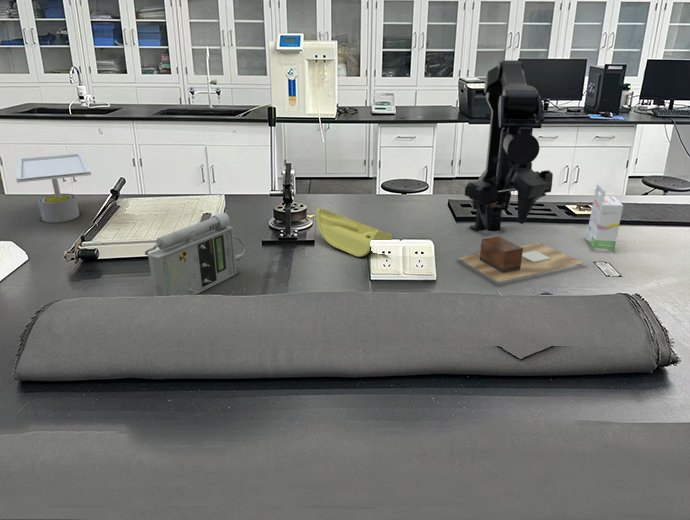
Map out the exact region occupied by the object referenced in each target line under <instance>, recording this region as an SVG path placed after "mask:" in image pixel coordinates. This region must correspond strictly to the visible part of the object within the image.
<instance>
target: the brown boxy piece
mask: <svg viewBox="0 0 690 520" xmlns="http://www.w3.org/2000/svg"><path fill="white" fill-rule="evenodd" d="M480 242H481V243H480V251H479V254H480V261H482V262H484V263H486V264H488V265H489V266H491V267H493V268H495V269H496V270H498V271H500V272H502V273H505V272H510V271H515V270H519V269H520V267H521V260H522V253H523V248H522V247H520V246H521V245H518V244H515V243H513V242H512V241H510V240H507V239H505V238H503V237H501V236H500V235H499V236H493V237H487V238H481V241H480Z"/></svg>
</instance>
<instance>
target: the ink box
mask: <svg viewBox="0 0 690 520" xmlns="http://www.w3.org/2000/svg"><path fill="white" fill-rule="evenodd" d="M623 211H624V205H623V203H621V202H620V200H619V199H618V198H617V197H616V196H613V195H606V190H605V189H604V188H603V187H602V186H601V185H600V184H599V183H597V184H596V187H595V192H594V195H593V200H592V207H591V211H590V217H589V222H588V227H587V232H586V237H585V240H586V241H587V242H589V243H590V244H591V246H592V247H593V248H595V249H607V250H609V251H612V252H614V251H615V247H616V243H617V237H618V232H619V227H620V223H621V218H622V213H623Z"/></svg>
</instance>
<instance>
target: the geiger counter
mask: <svg viewBox="0 0 690 520" xmlns="http://www.w3.org/2000/svg"><path fill="white" fill-rule="evenodd" d="M230 224H231V220H230V217H229V214H227V213H226V212H220V213H218V214H217V213H216V214H214V215H212V216H211V217H210V218H208V219H206V220H203V221H199V222H197V223H194V224H191V225H189V226H187V227H184V228H181V229H178V230H176V231H172V232H171V233H167V234H165V235H162V236H159V237H157V238H156V240H155V245H154V246H153V247H151V248H149V249H146V250H145V251H144V255H145V256H147V257H148V264H149V270H150V276H151V283H152V289H153V290H152V291H153V297H154V296H170V295H194V296H196V295H198V294H200V293H202V292H204V291H206V290H208V289H210V288H211V287H214V286H216V285H218V284H220V283H222V282H223V281H226V280H228V279H230V278H233V277H234V276H235V275H237V274H238V271H237V262H239V261H240V260H242V259H243V258H244V255H245V254H246V250H247V249H246V244H245V242H244V241H243V240H242V239H241V238H240V237H238V236H237V235H234V227H233V226H231V225H230ZM235 239H236V240H237V241H239V242H240V243H241V244H242V249H243V250H242V253H239V254H236V247H235ZM157 248H158V249H157ZM156 249H157V250H156ZM154 250H155V251H154Z"/></svg>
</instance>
